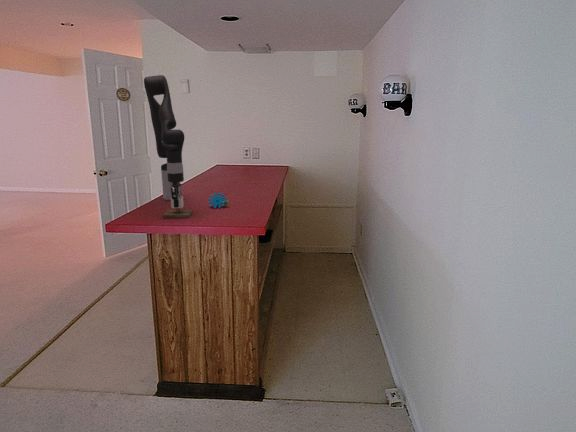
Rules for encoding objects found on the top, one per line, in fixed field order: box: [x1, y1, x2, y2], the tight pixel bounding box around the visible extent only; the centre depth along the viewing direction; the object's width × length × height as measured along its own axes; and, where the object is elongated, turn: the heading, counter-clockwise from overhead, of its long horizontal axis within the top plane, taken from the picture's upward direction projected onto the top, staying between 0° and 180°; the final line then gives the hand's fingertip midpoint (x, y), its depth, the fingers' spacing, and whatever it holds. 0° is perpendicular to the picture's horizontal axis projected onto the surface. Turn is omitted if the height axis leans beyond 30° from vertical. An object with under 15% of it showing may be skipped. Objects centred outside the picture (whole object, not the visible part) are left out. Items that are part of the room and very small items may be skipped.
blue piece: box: [207, 192, 230, 209], centre depth 221 cm, size 11×6×10 cm
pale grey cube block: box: [170, 195, 185, 209], centre depth 201 cm, size 5×5×5 cm
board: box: [162, 208, 193, 219], centre depth 202 cm, size 12×12×5 cm
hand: (177, 205), depth 201 cm, fingers closed on pale grey cube block, 5 cm apart
